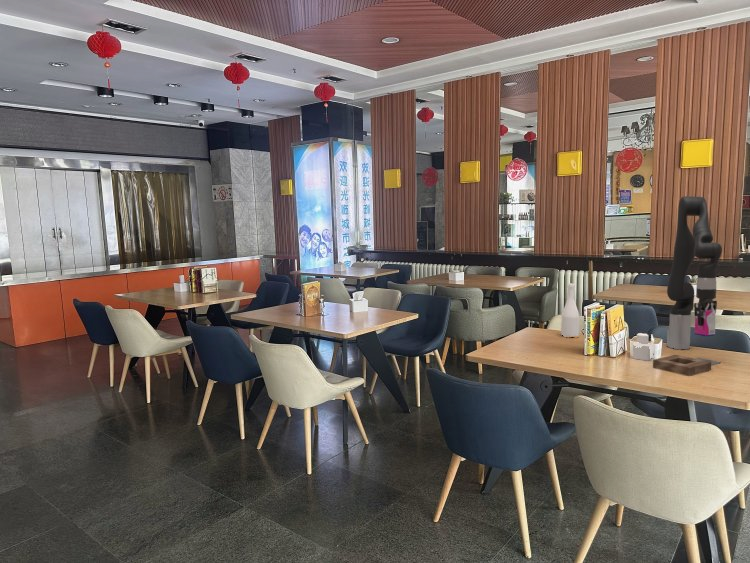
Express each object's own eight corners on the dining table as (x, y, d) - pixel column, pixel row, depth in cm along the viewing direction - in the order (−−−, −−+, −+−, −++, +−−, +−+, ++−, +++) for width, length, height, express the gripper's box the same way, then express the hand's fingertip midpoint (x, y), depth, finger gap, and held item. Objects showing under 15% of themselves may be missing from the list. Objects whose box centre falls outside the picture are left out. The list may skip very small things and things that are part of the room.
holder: (652, 367, 235) (653, 359, 234) (674, 362, 242) (674, 354, 242) (689, 376, 221) (689, 367, 220) (711, 370, 229) (711, 362, 228)
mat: (685, 361, 243) (685, 360, 243) (698, 358, 248) (698, 357, 248) (708, 366, 234) (708, 365, 234) (720, 363, 239) (720, 362, 239)
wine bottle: (562, 338, 297) (563, 284, 294) (559, 334, 306) (560, 282, 303) (580, 338, 296) (581, 284, 292) (577, 334, 305) (578, 282, 302)
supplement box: (703, 333, 244) (704, 308, 243) (715, 335, 238) (716, 310, 237) (693, 334, 242) (694, 309, 241) (705, 336, 236) (706, 311, 235)
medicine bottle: (638, 355, 256) (638, 331, 254) (654, 358, 250) (654, 333, 249) (632, 358, 251) (633, 333, 249) (648, 361, 246) (649, 335, 244)
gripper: (706, 285, 245) (705, 321, 246) (688, 288, 238) (687, 325, 239) (724, 287, 238) (722, 324, 240) (705, 289, 231) (704, 327, 233)
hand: (704, 324), depth 239 cm, fingers closed on supplement box, 6 cm apart
